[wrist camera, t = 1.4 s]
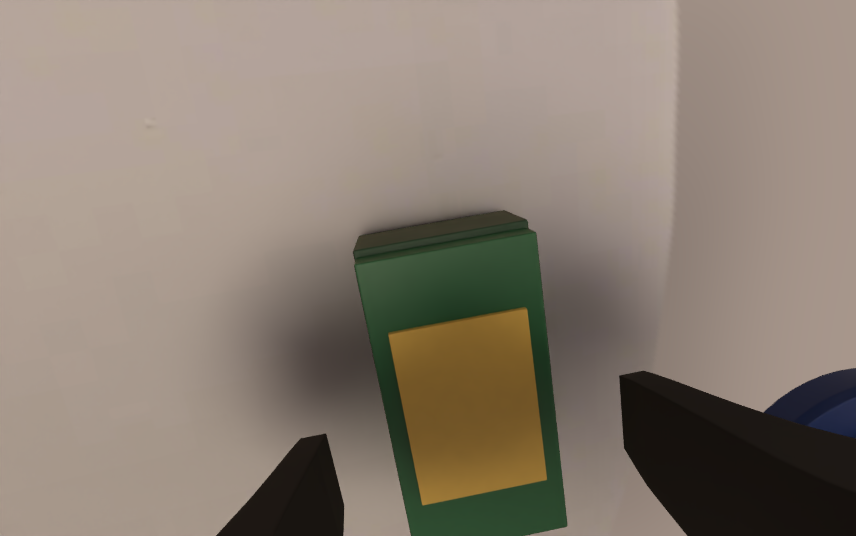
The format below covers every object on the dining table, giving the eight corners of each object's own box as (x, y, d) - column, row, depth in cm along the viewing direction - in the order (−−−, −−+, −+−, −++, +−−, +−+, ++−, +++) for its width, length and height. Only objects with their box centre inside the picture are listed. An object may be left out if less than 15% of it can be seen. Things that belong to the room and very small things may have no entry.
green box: (529, 449, 17) (572, 536, 13) (409, 473, 17) (415, 569, 13) (499, 207, 15) (540, 224, 11) (359, 231, 15) (349, 258, 11)
